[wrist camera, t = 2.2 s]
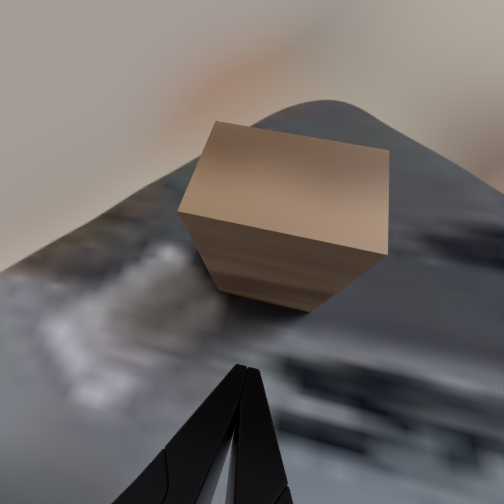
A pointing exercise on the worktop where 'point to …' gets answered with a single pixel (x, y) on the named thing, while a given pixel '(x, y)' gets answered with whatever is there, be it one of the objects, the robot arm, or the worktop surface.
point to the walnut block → (286, 213)
